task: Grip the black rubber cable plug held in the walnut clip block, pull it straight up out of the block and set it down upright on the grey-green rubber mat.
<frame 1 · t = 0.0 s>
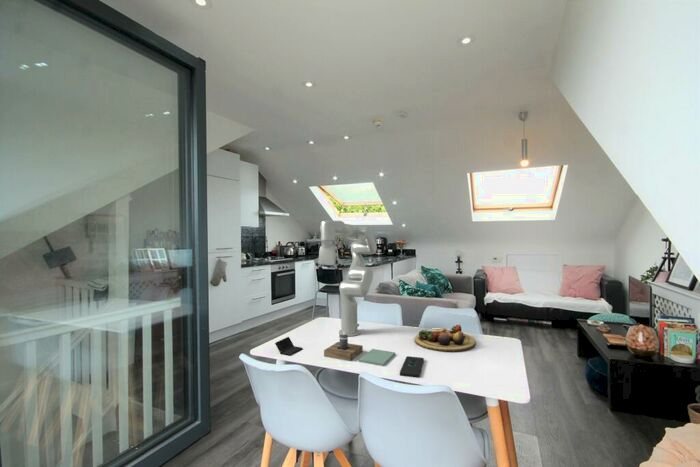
hand: (328, 275, 175), 37 cm above the table, tool pointing down, fingers open, 9 cm apart
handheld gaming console: (289, 352, 166), on the table
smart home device: (412, 369, 144), on the table
clip block: (343, 353, 161), on the table
wooden plate with food: (444, 343, 178), on the table
plug: (343, 344, 161), in the clip block
mat: (377, 357, 156), on the table
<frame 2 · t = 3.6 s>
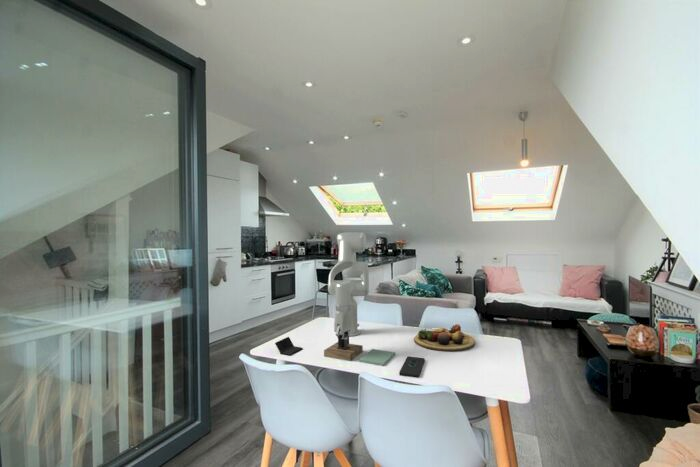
hand: (343, 345, 161), 4 cm above the table, tool pointing down, fingers closed on plug, 4 cm apart
plug: (343, 344, 161), in the clip block, touching gripper
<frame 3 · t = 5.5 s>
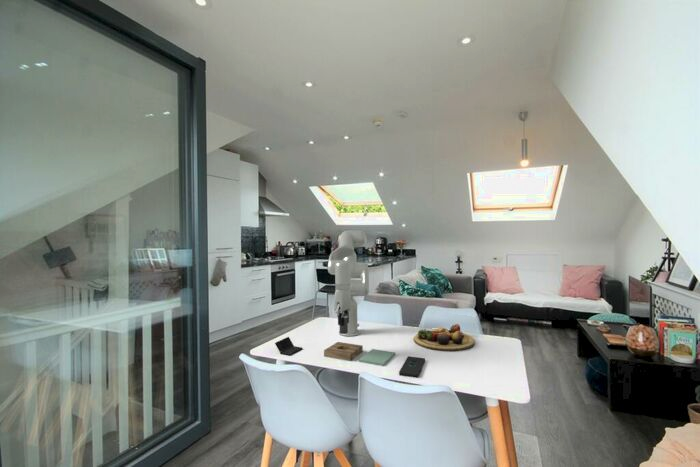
hand: (343, 323, 162), 15 cm above the table, tool pointing down, fingers closed on plug, 4 cm apart
plug: (343, 323, 162), point 15 cm above the table, touching gripper
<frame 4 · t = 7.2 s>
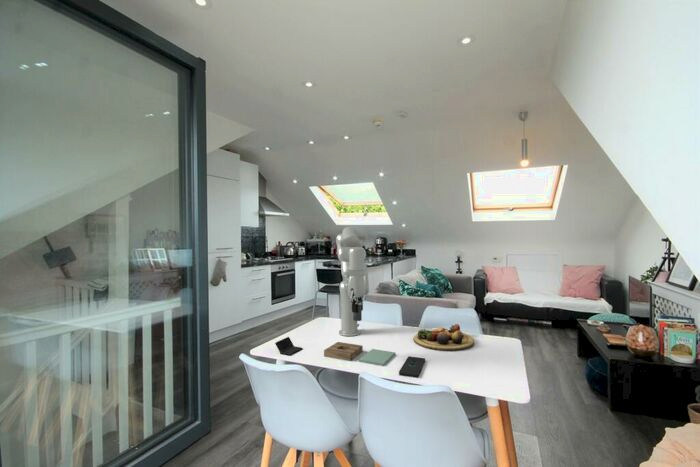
hand: (357, 310, 159), 22 cm above the table, tool pointing down, fingers closed on plug, 4 cm apart
plug: (357, 310, 159), point 22 cm above the table, touching gripper
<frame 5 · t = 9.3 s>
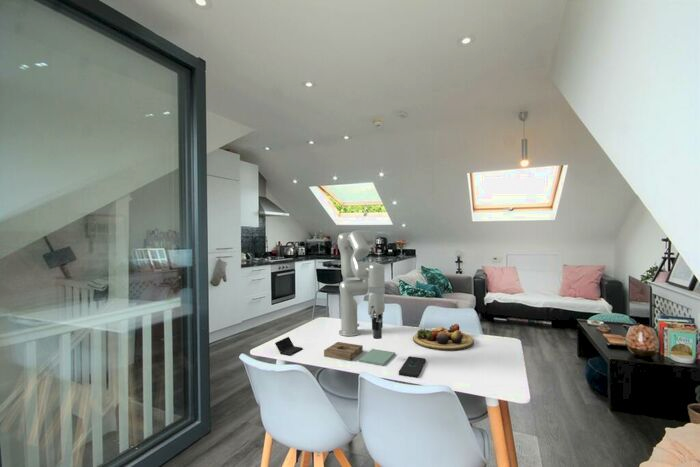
hand: (377, 328, 156), 14 cm above the table, tool pointing down, fingers closed on plug, 4 cm apart
plug: (377, 328, 156), point 14 cm above the table, touching gripper
when the fingers open (7 cm above the table, at t = 10.9 s): plug drops 1 cm, resting on mat.
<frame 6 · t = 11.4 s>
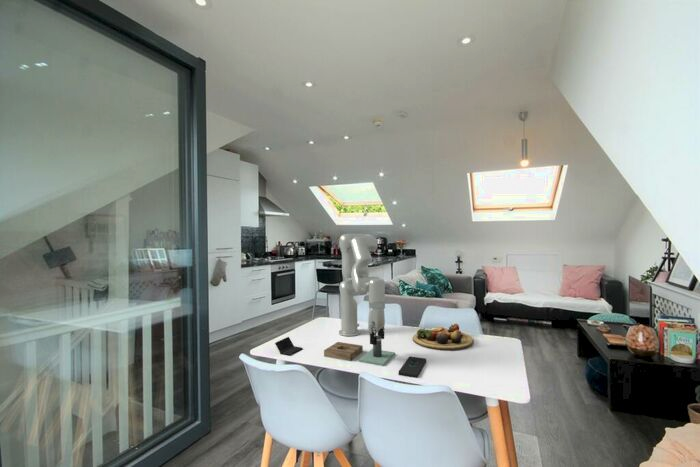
hand: (377, 341, 156), 8 cm above the table, tool pointing down, fingers open, 9 cm apart
plug: (377, 346, 156), on the mat, point 6 cm above the table
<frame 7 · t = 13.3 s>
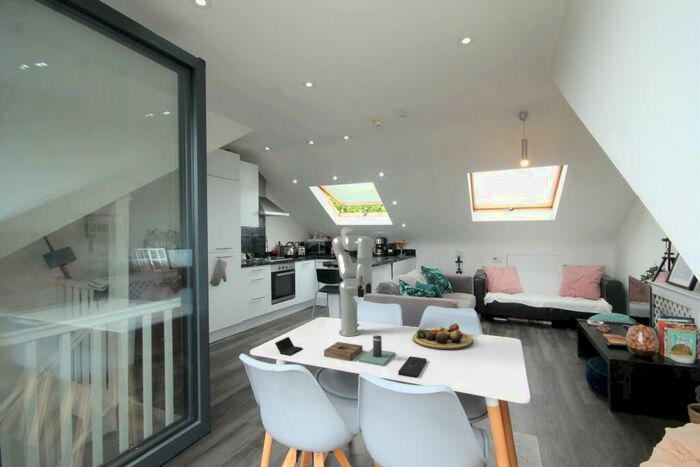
hand: (364, 295, 167), 28 cm above the table, tool pointing down, fingers open, 9 cm apart
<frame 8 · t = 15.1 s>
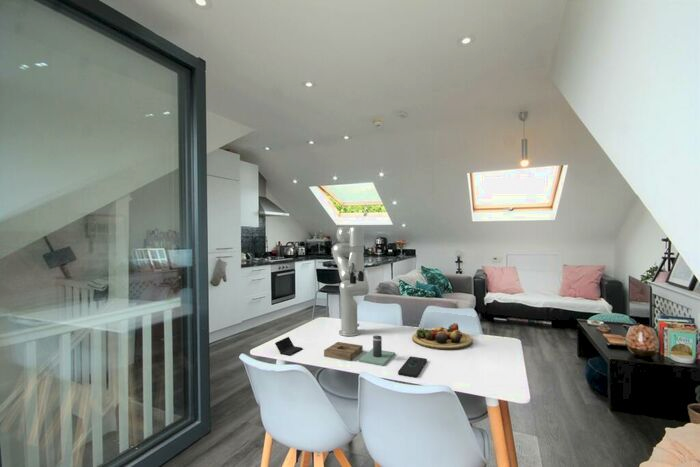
hand: (357, 282, 174), 33 cm above the table, tool pointing down, fingers open, 9 cm apart
at the end: plug inside the target area on the mat (0.0 cm from its centre), point 5.5 cm above the mat's base; plug tilted 0°; the gripper is holding nothing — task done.
